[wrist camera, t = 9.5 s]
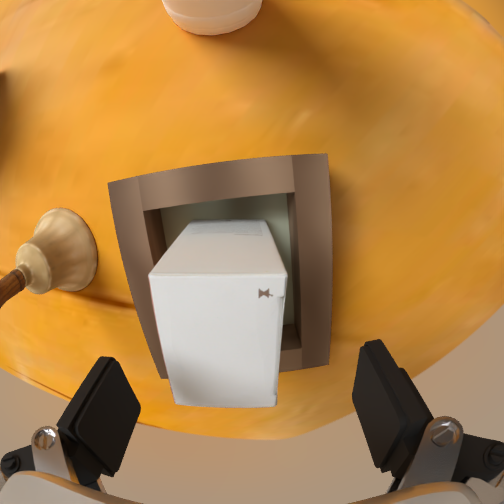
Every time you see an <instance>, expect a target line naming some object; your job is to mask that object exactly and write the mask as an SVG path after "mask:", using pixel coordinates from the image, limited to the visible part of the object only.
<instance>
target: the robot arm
mask: <svg viewBox="0 0 504 504" xmlns="http://www.w3.org/2000/svg"><path fill="white" fill-rule="evenodd" d="M352 400H353V403H354V406H355V409H356V412H357V415H358V417H359V420H360V423H361V426H362V429H363V432H364V435H365V438H366V440H367V443H368V446H369V450H370V453H371V456H372V459H373V462H374V465H375V467H376V468H380V469H381V472H382V473H384V472H387V471H391V473H392V476H393V477H394V479H393V481H392V483H391V485H390V486H389V488H388V490H387V492H386V494H384V495H380V496H376V497H372V498H369V499H365V500H361V501H357V502H353V503H348V504H504V443H503V442H500V441H496V440H491V439H486V438H480V437H477V436H472V435H468V434H464V433H463V428H462V425H461V424H460V423H459V421H457V420H456V419H455V418H452V417H448V416H442V417H437V418H435V419H434V418H433V416H432V414H431V412H430V411H429V409H428V407H427V405H426V404H425V402H424V400H423V399H422V397H421V395H420V394H419V392H418V390H417V389H416V387H415V385H414V384H413V382H412V380H411V379H410V377H409V375H408V374H407V372H406V371H405V370H404V369H403V368H399V367H398V366H397V364H396V363H395V361H394V359H393V358H392V356H391V355H390V353H389V351H388V350H387V348H386V347H385V345H384V343H383V342H382V341H381V340H380V339H378V340H373V341H368V342H365V344H364V346H362V347H361V348H360V352H359V359H358V365H357V371H356V377H355V382H354V387H353V392H352ZM140 411H141V406H140V403H139V401H138V400H137V398H136V396H135V394H134V392H133V390H132V388H131V386H130V384H129V382H128V380H127V378H126V376H125V374H124V372H123V370H122V368H121V366H120V364H119V362H118V361H116V360H115V358H113V357H103V356H101V357H100V358H99V359H98V360H97V362H96V363H95V364H94V366H93V367H92V369H91V370H90V372H89V373H88V375H87V376H86V378H85V380H84V381H83V383H82V384H81V386H80V387H79V389H78V390H77V392H76V393H75V395H74V397H73V398H72V400H71V401H70V403H69V405H68V406H67V408H66V409H65V411H64V413H63V415H62V416H61V418H60V419H59V421H58V423H57V427H58V430H56V429H55V428H53V427H50V426H45V427H41V428H40V429H38V430H37V431H36V432H35V433H34V434H33V437H32V441H31V444H32V445H29V446H26V447H24V448H20V449H17V450H14V451H12V452H9V453H7V454H5V455H4V456H3V458H2V460H1V464H0V465H1V466H0V504H142V503H138V502H134V501H130V500H126V499H123V498H119V497H116V496H112V495H109V494H107V492H106V490H105V488H104V486H103V484H102V481H101V479H100V475H101V473H102V474H104V475H107V476H110V477H114V474H115V472H117V471H118V470H119V468H120V465H121V462H122V459H123V457H124V454H125V451H126V448H127V446H128V443H129V440H130V438H131V435H132V432H133V429H134V427H135V424H136V422H137V419H138V417H139V414H140Z"/></svg>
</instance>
